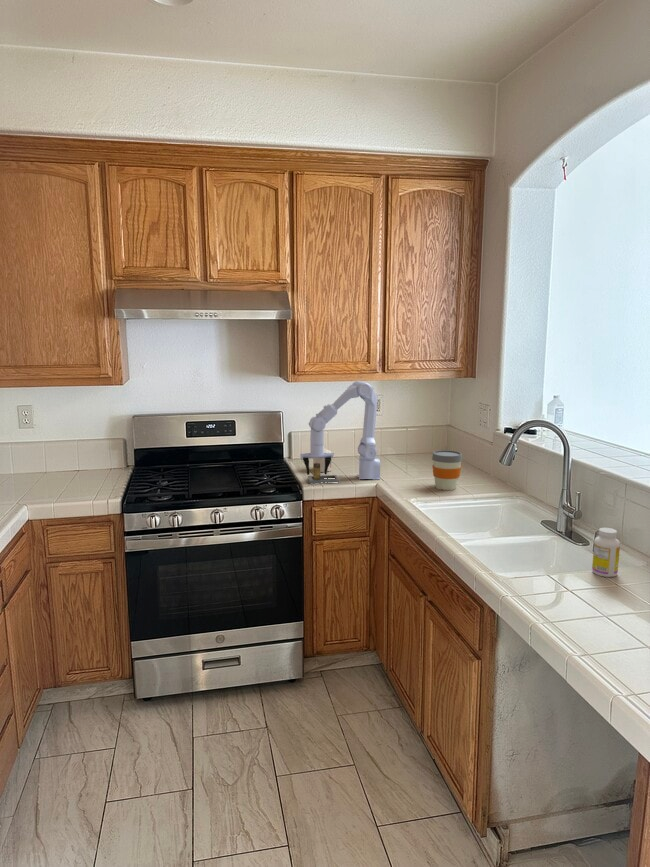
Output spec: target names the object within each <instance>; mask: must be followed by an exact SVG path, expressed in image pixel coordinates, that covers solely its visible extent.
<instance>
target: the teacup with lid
mask: <svg viewBox="0 0 650 867" xmlns="http://www.w3.org/2000/svg"><path fill="white" fill-rule="evenodd" d="M323 453H333V452H332V451H331V450H329V449H327V448H326V447H325V446H324V445H323ZM312 459H313V461H312V462H313V464H314V463H320V472H324V470H325V458H312ZM313 464H312V465H313ZM330 470H331V471H332V461H331V462H330V464H329V466H328V469H327V471H330ZM331 471H330V472H331Z"/></svg>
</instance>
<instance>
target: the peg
mask: <svg viewBox="0 0 650 867" xmlns="http://www.w3.org/2000/svg"><path fill="white" fill-rule="evenodd" d="M312 465H313V466H312V467H313V470H312V471H313V472H312V473H313V474H312V476H313V479H320V476H321V473H320V463H314V464H312Z"/></svg>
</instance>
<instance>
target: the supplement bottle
mask: <svg viewBox="0 0 650 867" xmlns="http://www.w3.org/2000/svg"><path fill="white" fill-rule="evenodd" d="M617 535H618V530H616V529H614V528H611V527H600V528H598V536H596V537H595V538H594V542H593V554H592V566H591V567H592V568H591V570H592V572H593V573H594V574H595V575H597V576H601V577H603V578H613V577H616V576H617V575H618V571H619V559H620V549H621V542H620V540H619V539H617V537H618V536H617Z"/></svg>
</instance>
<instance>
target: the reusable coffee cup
mask: <svg viewBox="0 0 650 867" xmlns="http://www.w3.org/2000/svg"><path fill="white" fill-rule="evenodd" d="M431 460H432V463H433V464H432V474H433V477H434V485H435V488H436V489H438V490H441V489H443V490H444V491H452V490H453V489H454V490H456V489H457V486H458V480H459V478H460V476H461V469H462V465H461V464H462V461H463V454H462V452H460V451H456V450H448V449H446V450H445V449H443V450H442V449H441V450H440V449H439V450H434V451H432V458H431ZM443 490H442V491H443Z"/></svg>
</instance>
